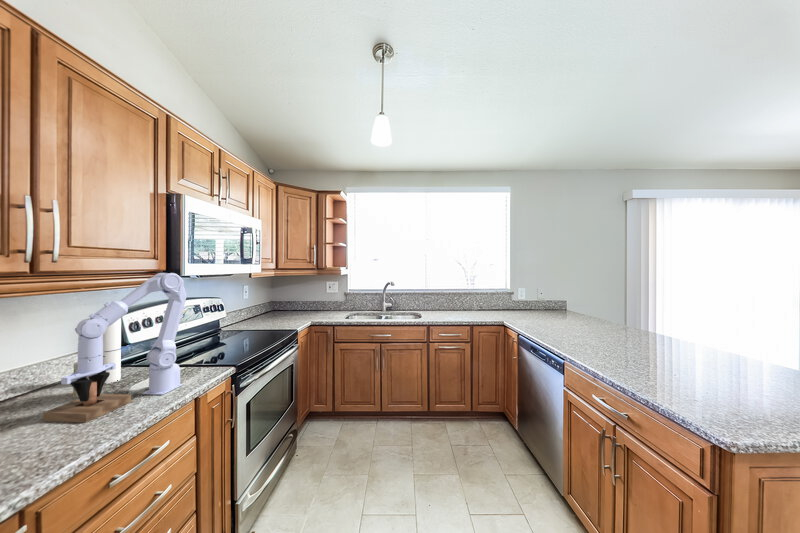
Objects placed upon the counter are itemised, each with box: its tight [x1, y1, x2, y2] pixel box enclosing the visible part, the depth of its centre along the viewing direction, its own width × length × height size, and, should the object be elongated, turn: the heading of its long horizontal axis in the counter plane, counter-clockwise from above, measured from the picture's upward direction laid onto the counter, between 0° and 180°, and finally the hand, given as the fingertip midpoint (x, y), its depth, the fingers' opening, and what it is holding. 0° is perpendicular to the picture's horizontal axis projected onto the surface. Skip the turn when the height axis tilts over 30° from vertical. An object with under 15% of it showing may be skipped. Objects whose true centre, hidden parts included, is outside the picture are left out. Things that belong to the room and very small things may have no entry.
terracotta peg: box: [83, 381, 97, 407], centre depth 98 cm, size 3×3×8 cm
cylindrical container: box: [103, 317, 122, 384], centre depth 125 cm, size 7×7×25 cm
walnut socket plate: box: [42, 393, 132, 423], centre depth 98 cm, size 14×14×2 cm
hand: (90, 398), depth 98 cm, fingers closed on terracotta peg, 3 cm apart
